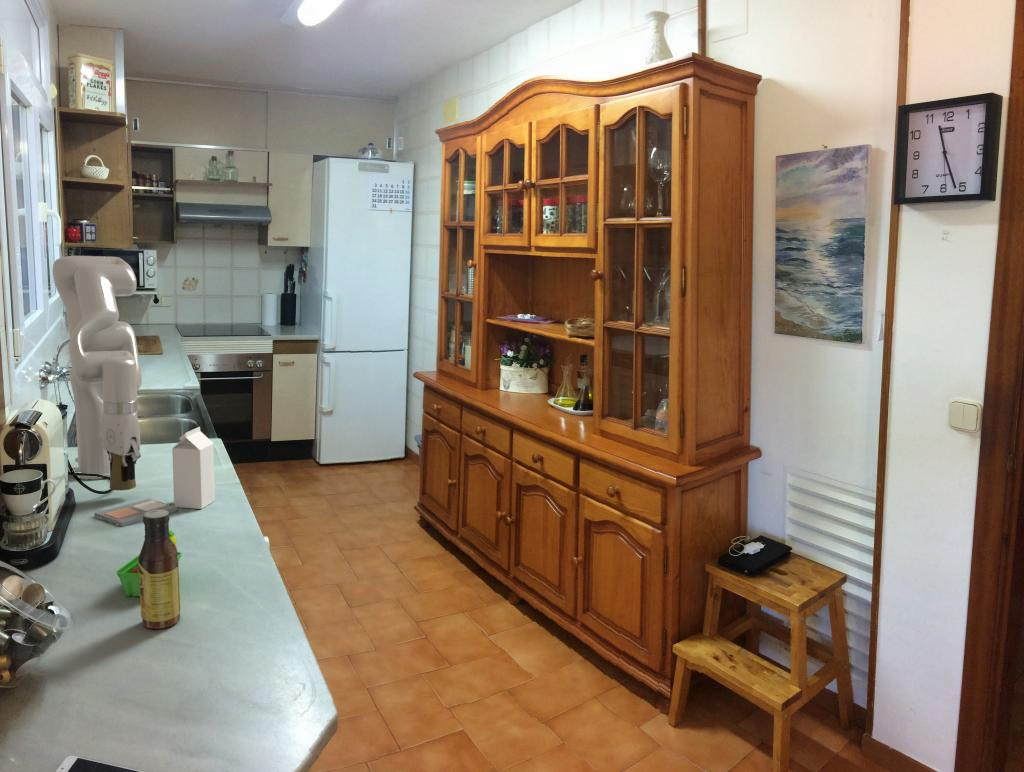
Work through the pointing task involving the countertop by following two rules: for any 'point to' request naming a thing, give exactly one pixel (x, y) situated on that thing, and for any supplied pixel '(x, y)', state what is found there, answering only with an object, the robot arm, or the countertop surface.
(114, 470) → the cork
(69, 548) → the countertop surface
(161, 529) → the sauce bottle
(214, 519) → the countertop surface
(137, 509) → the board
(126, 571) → the fruit basket
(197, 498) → the milk carton
